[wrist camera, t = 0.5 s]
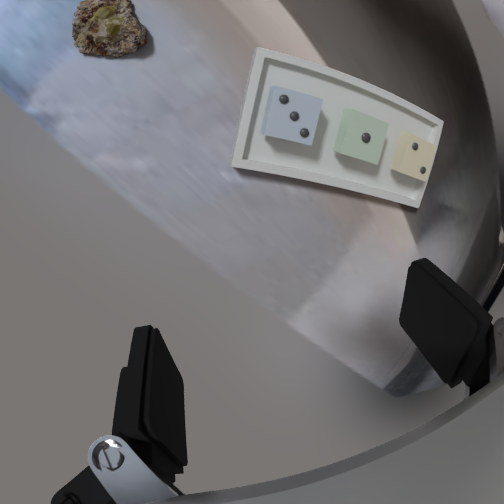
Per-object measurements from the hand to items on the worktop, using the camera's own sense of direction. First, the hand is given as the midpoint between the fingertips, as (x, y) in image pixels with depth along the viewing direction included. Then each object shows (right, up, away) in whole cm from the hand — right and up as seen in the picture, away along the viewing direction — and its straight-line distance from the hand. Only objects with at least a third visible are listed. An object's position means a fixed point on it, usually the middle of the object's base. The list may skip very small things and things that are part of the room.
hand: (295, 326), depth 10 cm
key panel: (+11, +18, +24) cm, 32 cm away
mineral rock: (-18, +28, +13) cm, 36 cm away
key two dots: (+20, +16, +24) cm, 35 cm away
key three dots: (+2, +18, +20) cm, 27 cm away
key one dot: (+11, +17, +22) cm, 30 cm away
